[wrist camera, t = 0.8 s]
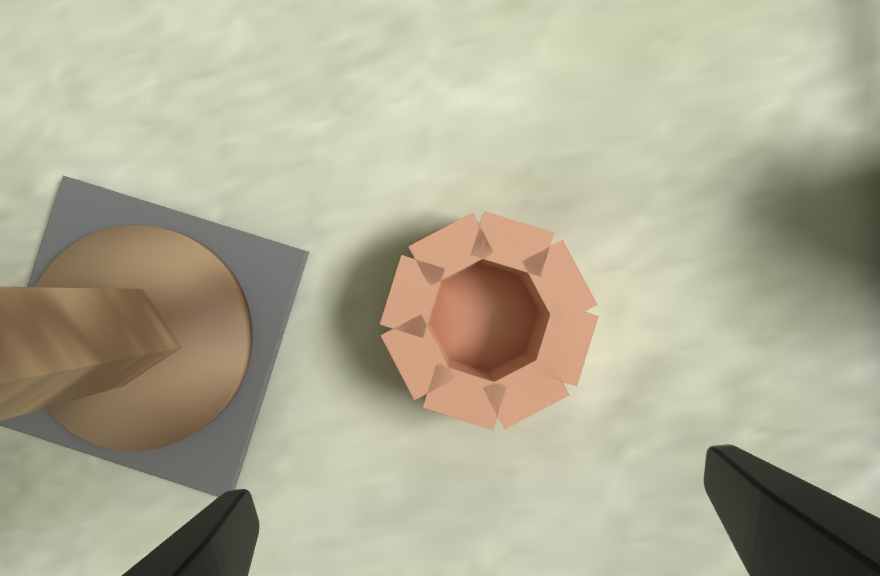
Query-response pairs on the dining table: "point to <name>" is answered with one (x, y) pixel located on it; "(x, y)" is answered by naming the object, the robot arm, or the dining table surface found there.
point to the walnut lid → (126, 339)
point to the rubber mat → (270, 301)
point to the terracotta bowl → (489, 320)
